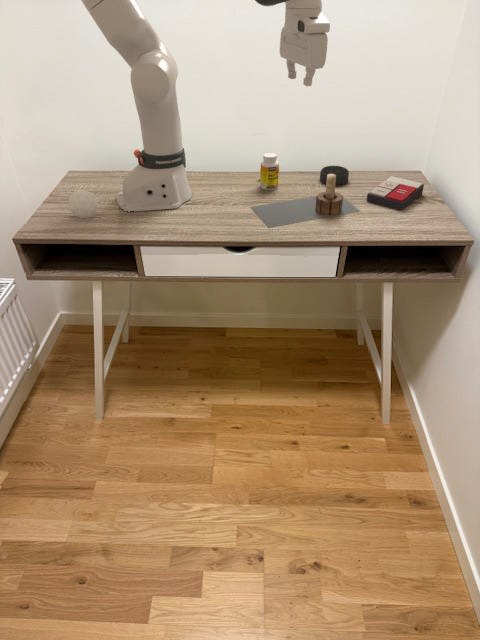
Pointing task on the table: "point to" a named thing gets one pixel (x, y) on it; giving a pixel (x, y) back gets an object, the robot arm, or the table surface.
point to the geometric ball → (83, 204)
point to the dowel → (330, 186)
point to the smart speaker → (339, 171)
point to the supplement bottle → (269, 172)
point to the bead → (329, 204)
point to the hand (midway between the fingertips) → (299, 82)
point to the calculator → (396, 193)
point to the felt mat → (295, 211)
